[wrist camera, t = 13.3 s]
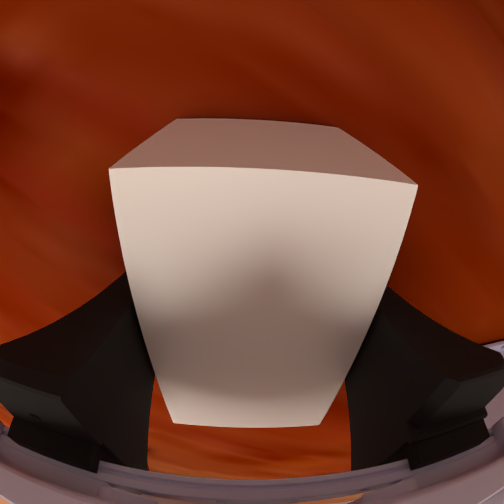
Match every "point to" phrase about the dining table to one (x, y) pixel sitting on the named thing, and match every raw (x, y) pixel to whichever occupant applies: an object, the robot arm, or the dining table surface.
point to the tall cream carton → (256, 262)
